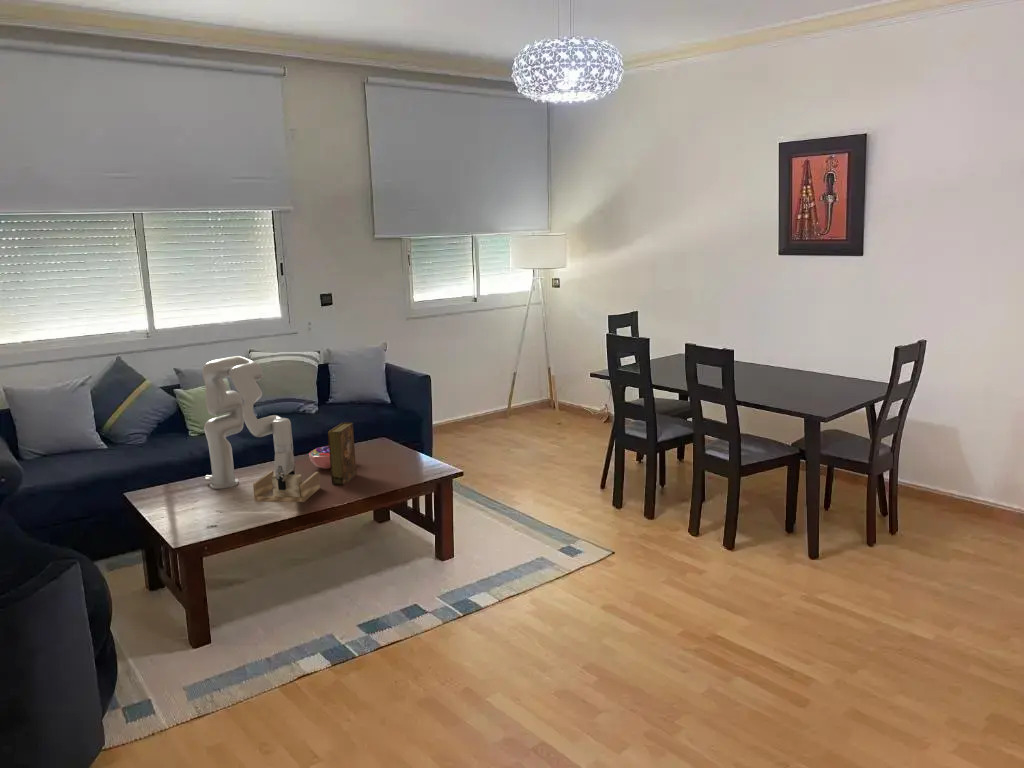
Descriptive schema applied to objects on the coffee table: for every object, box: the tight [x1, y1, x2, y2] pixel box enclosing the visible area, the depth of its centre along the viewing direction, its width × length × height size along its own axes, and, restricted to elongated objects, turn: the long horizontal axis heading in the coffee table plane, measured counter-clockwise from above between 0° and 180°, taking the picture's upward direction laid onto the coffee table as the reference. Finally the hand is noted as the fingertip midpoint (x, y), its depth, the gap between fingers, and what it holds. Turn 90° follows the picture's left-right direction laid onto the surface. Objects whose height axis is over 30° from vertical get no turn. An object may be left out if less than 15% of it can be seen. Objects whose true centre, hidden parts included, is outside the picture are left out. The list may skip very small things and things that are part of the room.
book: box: [327, 422, 357, 486], centre depth 353 cm, size 16×6×25 cm, turn 168°
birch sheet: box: [272, 473, 303, 497], centre depth 331 cm, size 12×3×11 cm, turn 82°
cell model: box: [308, 445, 331, 470], centre depth 374 cm, size 17×20×11 cm
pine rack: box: [252, 470, 321, 503], centre depth 337 cm, size 22×17×8 cm
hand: (287, 485), depth 330 cm, fingers open, 9 cm apart
